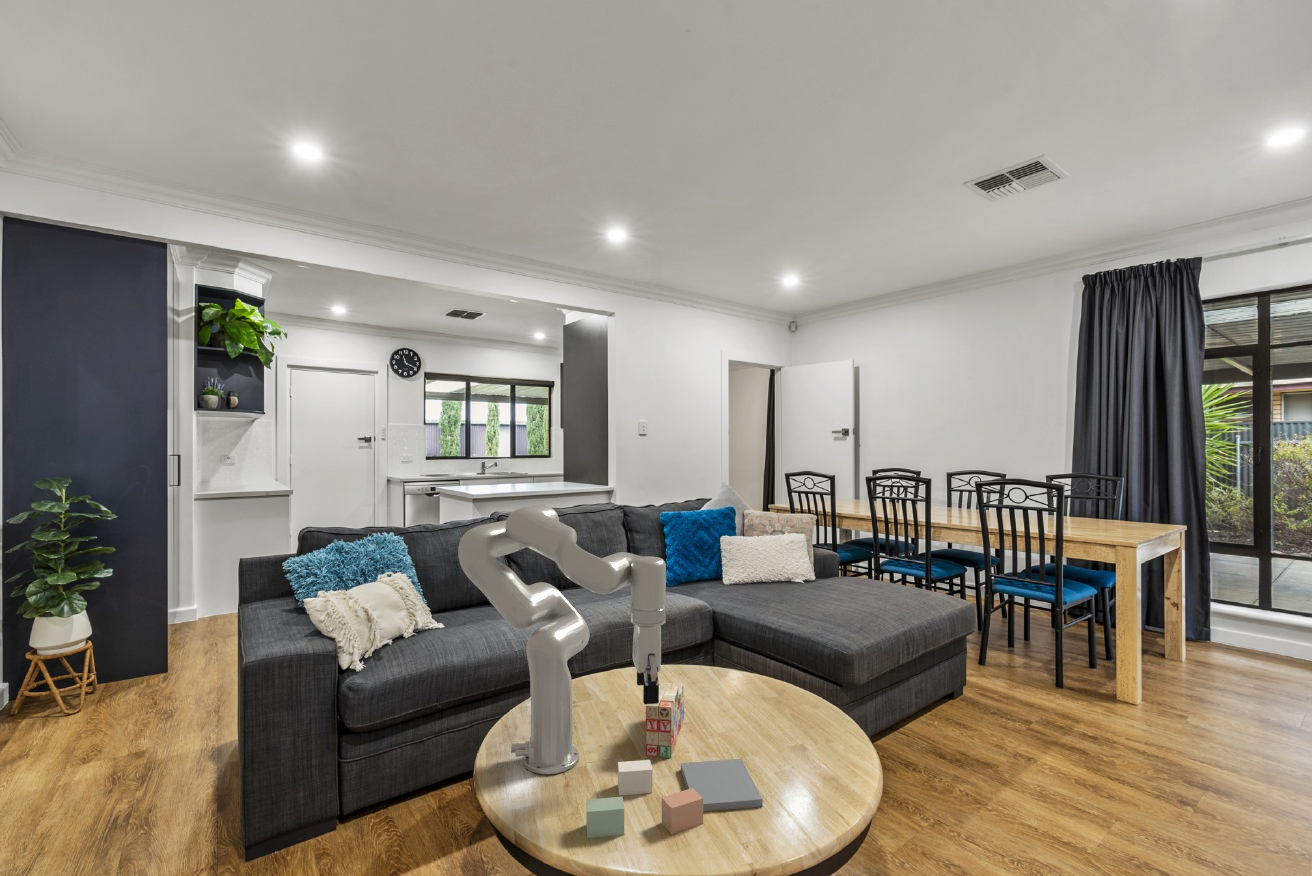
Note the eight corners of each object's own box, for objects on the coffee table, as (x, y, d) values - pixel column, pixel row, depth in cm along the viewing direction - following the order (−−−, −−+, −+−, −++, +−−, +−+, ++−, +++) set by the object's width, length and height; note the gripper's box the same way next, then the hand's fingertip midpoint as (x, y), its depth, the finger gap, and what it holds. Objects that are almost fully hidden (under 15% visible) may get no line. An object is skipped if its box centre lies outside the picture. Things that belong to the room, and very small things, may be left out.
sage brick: (586, 838, 116) (586, 811, 116) (586, 825, 120) (586, 799, 120) (624, 835, 117) (624, 808, 117) (622, 822, 121) (622, 796, 121)
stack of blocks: (661, 716, 167) (661, 670, 167) (684, 718, 166) (684, 672, 166) (645, 756, 146) (645, 704, 146) (671, 759, 145) (671, 706, 145)
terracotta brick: (671, 834, 117) (671, 808, 117) (661, 823, 121) (661, 797, 121) (703, 823, 120) (703, 798, 120) (692, 812, 124) (692, 787, 124)
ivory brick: (619, 795, 130) (619, 771, 130) (617, 785, 134) (617, 762, 134) (652, 793, 131) (652, 769, 131) (650, 782, 135) (650, 759, 135)
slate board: (694, 812, 124) (694, 804, 124) (680, 769, 140) (680, 763, 140) (762, 806, 126) (762, 799, 126) (741, 765, 142) (741, 758, 142)
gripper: (626, 604, 142) (625, 679, 142) (636, 628, 125) (635, 712, 125) (658, 603, 143) (657, 677, 144) (673, 626, 126) (672, 710, 126)
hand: (647, 693), depth 134 cm, fingers open, 9 cm apart
